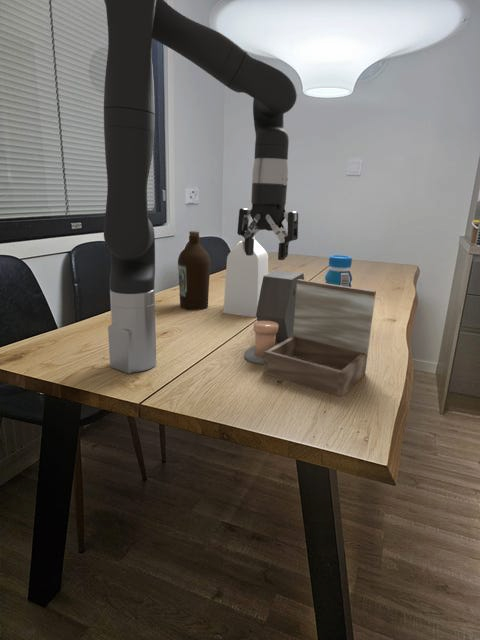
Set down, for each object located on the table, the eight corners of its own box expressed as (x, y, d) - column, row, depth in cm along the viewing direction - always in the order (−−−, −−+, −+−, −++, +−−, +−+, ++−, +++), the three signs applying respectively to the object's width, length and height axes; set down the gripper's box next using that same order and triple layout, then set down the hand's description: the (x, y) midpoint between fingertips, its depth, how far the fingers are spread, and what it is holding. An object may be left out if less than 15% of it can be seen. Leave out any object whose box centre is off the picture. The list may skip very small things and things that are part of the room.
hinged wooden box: (341, 396, 83) (352, 304, 77) (263, 373, 92) (267, 289, 87) (365, 373, 94) (376, 291, 89) (293, 354, 104) (299, 279, 98)
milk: (257, 317, 133) (261, 233, 126) (223, 312, 137) (225, 231, 129) (267, 308, 144) (272, 231, 137) (236, 304, 148) (239, 228, 140)
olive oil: (203, 301, 149) (204, 230, 142) (214, 309, 140) (215, 233, 133) (174, 304, 145) (173, 230, 138) (183, 312, 136) (183, 233, 129)
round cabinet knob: (268, 360, 97) (270, 329, 95) (247, 354, 100) (248, 324, 98) (280, 353, 102) (282, 323, 99) (260, 348, 105) (261, 319, 103)
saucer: (269, 367, 95) (269, 364, 95) (236, 357, 100) (236, 354, 100) (288, 355, 102) (288, 352, 102) (256, 347, 107) (257, 344, 107)
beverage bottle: (318, 321, 132) (324, 257, 126) (323, 314, 139) (328, 253, 134) (346, 324, 129) (353, 259, 123) (349, 317, 137) (356, 255, 131)
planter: (283, 307, 127) (273, 254, 112) (308, 311, 124) (301, 257, 109) (264, 351, 118) (251, 299, 103) (291, 356, 115) (281, 304, 100)
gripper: (232, 180, 91) (230, 255, 96) (290, 182, 84) (284, 263, 89) (251, 182, 97) (248, 252, 102) (307, 183, 90) (301, 259, 94)
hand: (265, 257), depth 95 cm, fingers open, 8 cm apart
